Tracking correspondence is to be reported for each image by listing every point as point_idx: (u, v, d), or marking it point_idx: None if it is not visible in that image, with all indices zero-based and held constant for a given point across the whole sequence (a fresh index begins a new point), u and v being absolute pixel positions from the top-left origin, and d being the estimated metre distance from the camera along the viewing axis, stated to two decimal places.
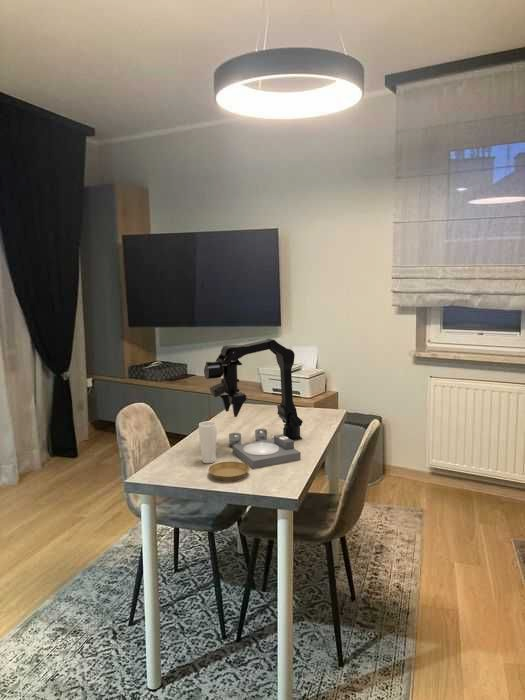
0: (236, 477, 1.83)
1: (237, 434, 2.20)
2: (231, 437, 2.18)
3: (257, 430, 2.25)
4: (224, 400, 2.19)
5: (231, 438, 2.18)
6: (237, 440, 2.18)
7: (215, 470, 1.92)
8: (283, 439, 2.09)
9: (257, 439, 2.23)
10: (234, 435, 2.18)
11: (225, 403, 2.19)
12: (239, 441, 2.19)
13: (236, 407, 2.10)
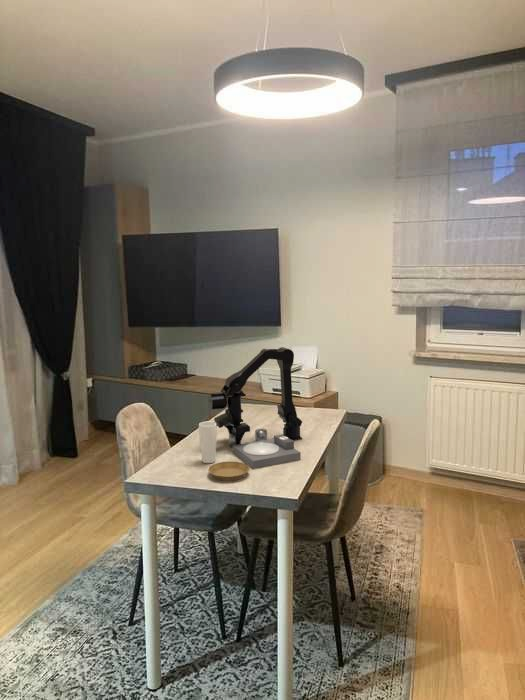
0: (236, 477, 1.83)
1: None
2: (231, 437, 2.18)
3: (257, 430, 2.25)
4: (230, 431, 2.22)
5: (231, 438, 2.18)
6: None
7: (215, 470, 1.92)
8: (283, 439, 2.09)
9: (257, 439, 2.23)
10: (234, 435, 2.18)
11: None
12: None
13: (238, 436, 2.16)
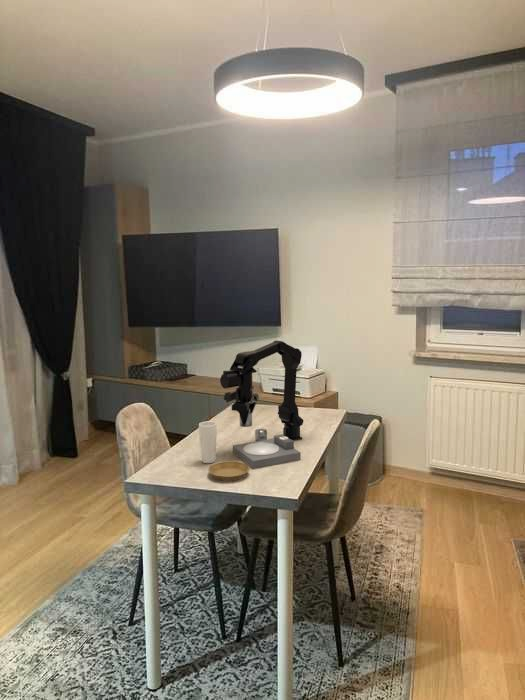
0: (236, 477, 1.83)
1: None
2: None
3: (257, 430, 2.25)
4: None
5: None
6: None
7: (215, 470, 1.92)
8: (283, 439, 2.09)
9: (257, 439, 2.23)
10: None
11: None
12: None
13: (243, 415, 2.08)
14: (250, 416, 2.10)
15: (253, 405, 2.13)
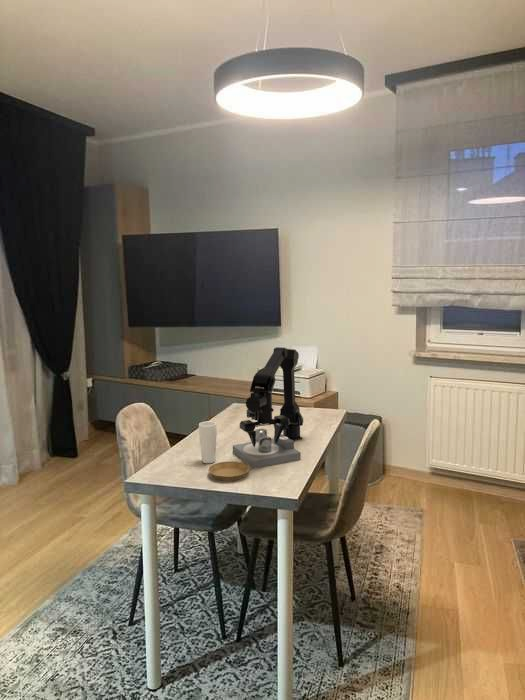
0: (236, 477, 1.83)
1: (264, 439, 2.02)
2: None
3: (257, 430, 2.25)
4: (275, 430, 2.05)
5: None
6: (259, 444, 2.02)
7: (215, 470, 1.92)
8: (283, 439, 2.09)
9: (257, 439, 2.23)
10: (261, 438, 2.03)
11: (274, 433, 2.05)
12: (260, 446, 2.01)
13: (251, 436, 2.00)
14: (265, 442, 2.00)
15: (279, 428, 2.02)
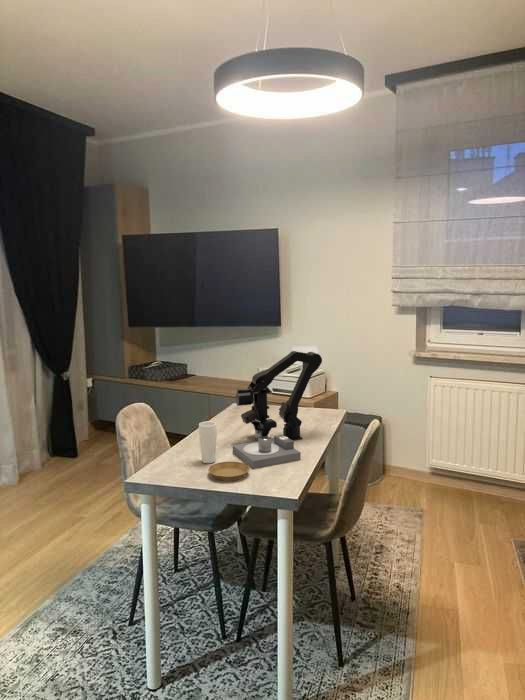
0: (236, 477, 1.83)
1: (264, 439, 2.02)
2: None
3: (257, 430, 2.25)
4: (256, 427, 2.27)
5: None
6: (259, 444, 2.02)
7: (215, 470, 1.92)
8: (283, 439, 2.09)
9: (257, 439, 2.23)
10: (261, 438, 2.03)
11: None
12: (260, 446, 2.01)
13: (264, 432, 2.21)
14: (265, 442, 2.00)
15: None
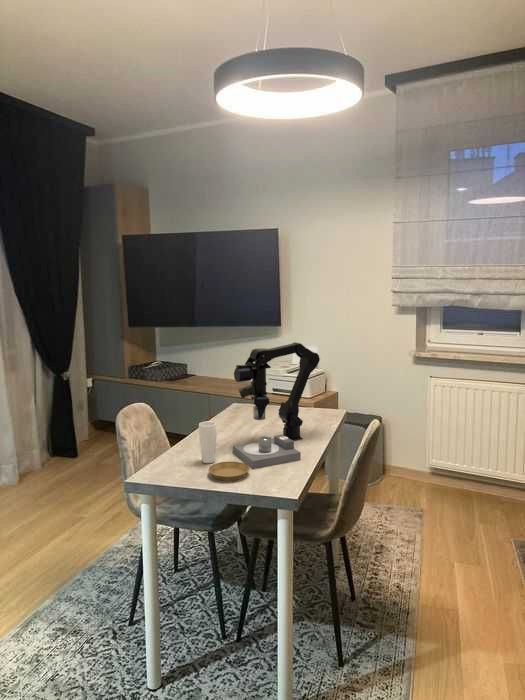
0: (236, 477, 1.83)
1: (264, 439, 2.02)
2: None
3: (255, 406, 2.20)
4: None
5: None
6: (259, 444, 2.02)
7: (215, 470, 1.92)
8: (283, 439, 2.09)
9: (254, 415, 2.19)
10: (261, 438, 2.03)
11: None
12: (261, 446, 2.01)
13: (260, 408, 2.16)
14: (265, 442, 2.00)
15: None
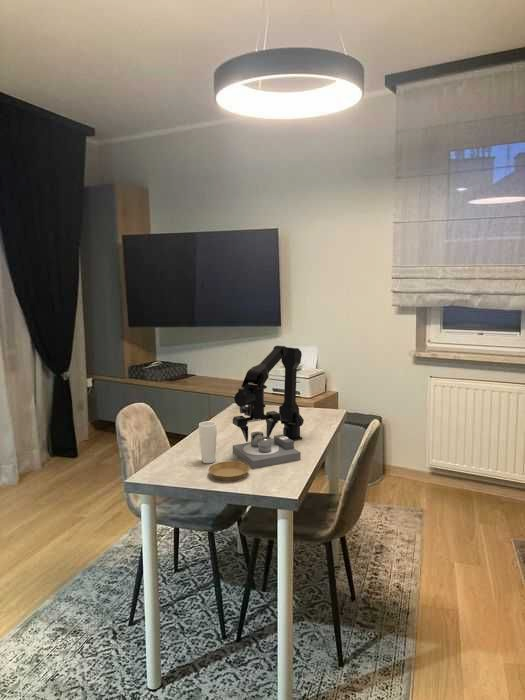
0: (236, 477, 1.83)
1: (264, 439, 2.02)
2: None
3: (256, 432, 2.11)
4: (267, 425, 2.11)
5: None
6: (259, 444, 2.02)
7: (215, 470, 1.92)
8: (283, 439, 2.09)
9: None
10: (261, 438, 2.03)
11: (267, 429, 2.11)
12: (261, 446, 2.01)
13: (243, 431, 2.06)
14: (265, 443, 2.00)
15: (271, 423, 2.08)
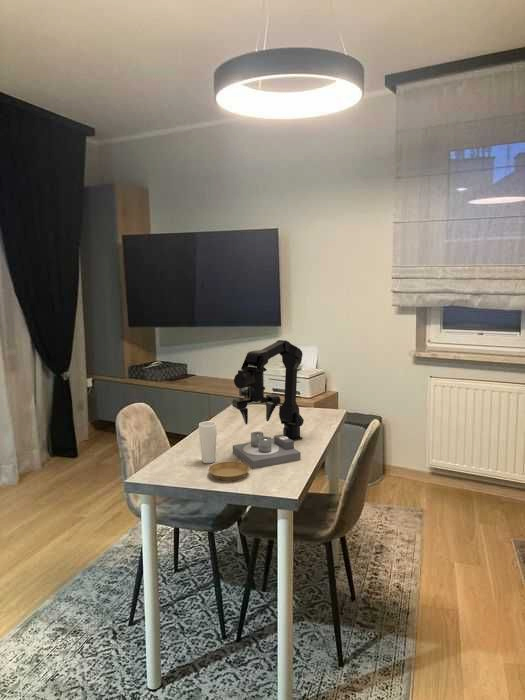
0: (236, 477, 1.83)
1: (264, 439, 2.02)
2: None
3: (256, 432, 2.11)
4: (266, 408, 2.10)
5: None
6: (259, 444, 2.02)
7: (216, 470, 1.92)
8: (283, 439, 2.09)
9: None
10: (261, 438, 2.03)
11: (266, 412, 2.10)
12: (261, 446, 2.01)
13: (243, 414, 2.05)
14: (265, 442, 2.00)
15: (270, 406, 2.07)
